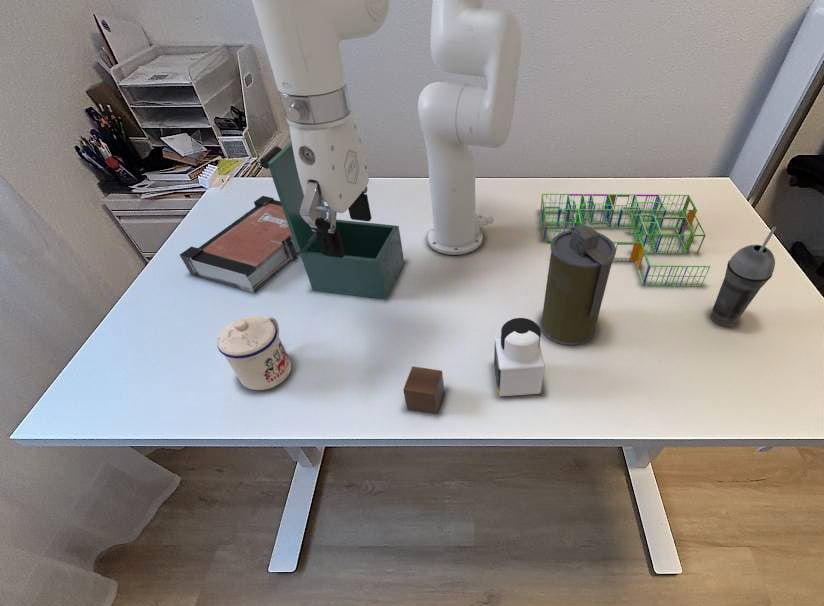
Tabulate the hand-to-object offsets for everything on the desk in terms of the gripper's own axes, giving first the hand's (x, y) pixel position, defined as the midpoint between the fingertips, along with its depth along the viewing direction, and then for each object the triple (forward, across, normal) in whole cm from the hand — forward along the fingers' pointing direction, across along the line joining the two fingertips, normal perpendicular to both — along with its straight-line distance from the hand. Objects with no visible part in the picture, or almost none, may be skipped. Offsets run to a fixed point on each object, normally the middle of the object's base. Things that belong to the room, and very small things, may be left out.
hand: (348, 236), depth 65 cm
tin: (+22, +20, +11) cm, 32 cm away
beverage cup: (+22, +22, -62) cm, 70 cm away
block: (+23, -9, -12) cm, 28 cm away
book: (+23, +24, +36) cm, 49 cm away
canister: (+23, +13, -34) cm, 43 cm away
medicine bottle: (+23, -2, -26) cm, 35 cm away
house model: (+22, +43, -43) cm, 65 cm away
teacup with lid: (+23, -8, +17) cm, 30 cm away
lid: (+5, +19, +18) cm, 27 cm away
